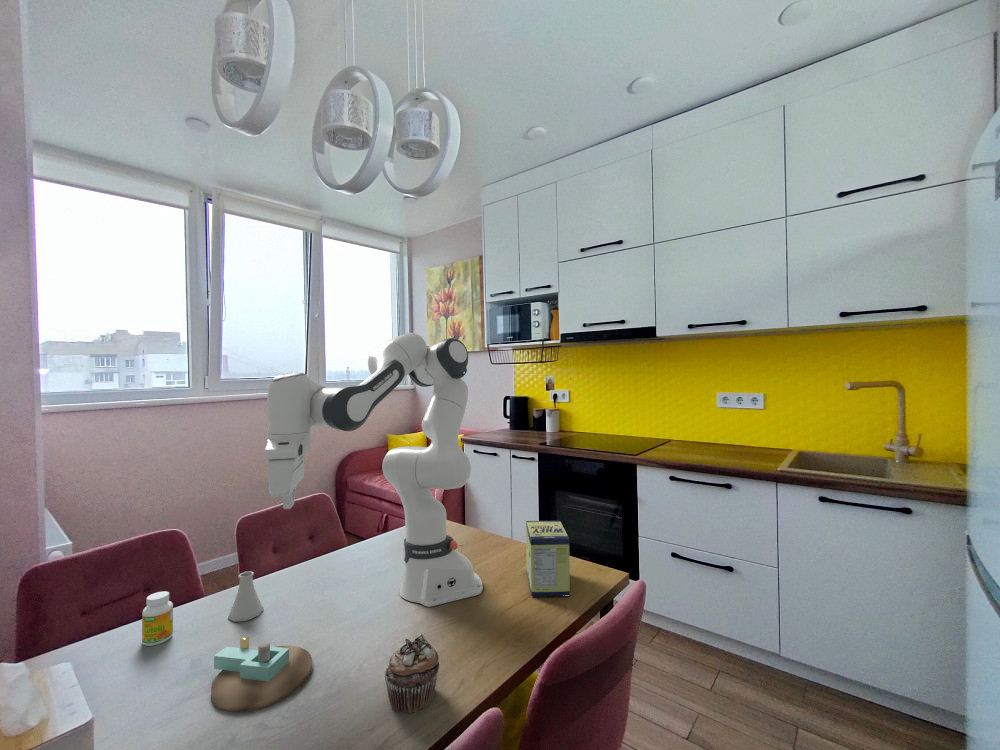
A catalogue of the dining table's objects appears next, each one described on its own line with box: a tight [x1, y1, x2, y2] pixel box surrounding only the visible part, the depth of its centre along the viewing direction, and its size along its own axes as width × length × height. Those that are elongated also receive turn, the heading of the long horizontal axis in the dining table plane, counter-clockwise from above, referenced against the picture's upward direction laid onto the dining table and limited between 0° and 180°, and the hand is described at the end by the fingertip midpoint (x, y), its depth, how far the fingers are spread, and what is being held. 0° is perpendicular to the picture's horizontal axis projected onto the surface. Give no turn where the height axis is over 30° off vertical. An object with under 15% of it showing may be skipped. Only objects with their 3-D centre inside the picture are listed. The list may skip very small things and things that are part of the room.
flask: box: [227, 571, 264, 623], centre depth 107 cm, size 7×7×10 cm
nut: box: [213, 645, 289, 681], centre depth 85 cm, size 13×6×2 cm, turn 80°
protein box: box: [525, 520, 571, 598], centre depth 122 cm, size 10×16×16 cm
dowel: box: [239, 635, 250, 649], centre depth 88 cm, size 2×2×4 cm
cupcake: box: [384, 633, 440, 714], centre depth 79 cm, size 10×10×10 cm
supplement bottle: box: [141, 590, 174, 647], centre depth 97 cm, size 5×5×10 cm
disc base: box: [210, 642, 313, 713], centre depth 84 cm, size 17×17×6 cm
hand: (288, 507), depth 97 cm, fingers closed
